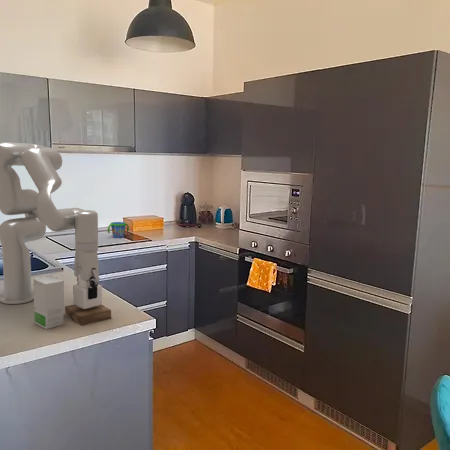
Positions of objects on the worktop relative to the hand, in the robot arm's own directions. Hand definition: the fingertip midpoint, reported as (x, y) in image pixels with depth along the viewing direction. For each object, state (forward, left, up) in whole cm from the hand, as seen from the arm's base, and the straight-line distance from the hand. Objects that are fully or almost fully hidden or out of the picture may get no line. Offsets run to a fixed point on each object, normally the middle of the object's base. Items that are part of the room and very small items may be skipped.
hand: (87, 295), depth 151 cm
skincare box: (-1, -13, -8) cm, 15 cm away
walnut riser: (0, 0, -8) cm, 8 cm away
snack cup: (-129, +83, -8) cm, 153 cm away
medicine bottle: (0, 0, -4) cm, 4 cm away
